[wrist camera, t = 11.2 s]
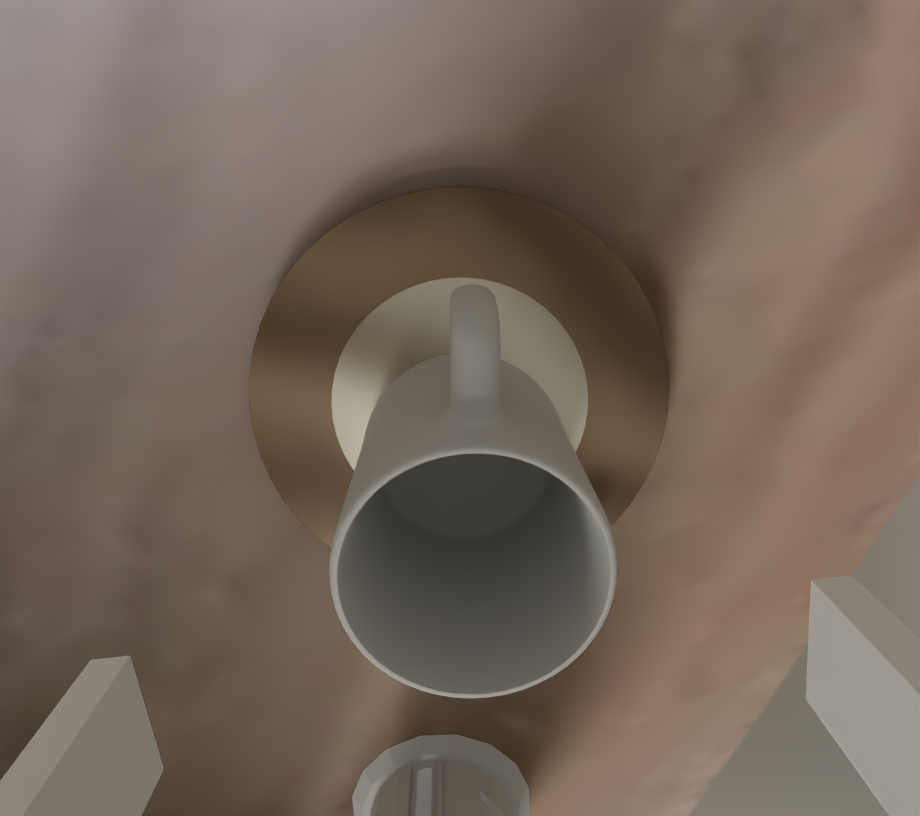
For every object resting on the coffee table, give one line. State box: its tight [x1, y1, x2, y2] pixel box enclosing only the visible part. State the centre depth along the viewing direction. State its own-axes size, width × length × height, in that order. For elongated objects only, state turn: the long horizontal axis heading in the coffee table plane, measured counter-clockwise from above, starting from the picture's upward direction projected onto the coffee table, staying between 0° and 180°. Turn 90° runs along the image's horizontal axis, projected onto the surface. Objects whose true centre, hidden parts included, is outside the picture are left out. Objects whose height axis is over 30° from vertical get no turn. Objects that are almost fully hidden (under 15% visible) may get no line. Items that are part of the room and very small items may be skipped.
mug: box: [329, 284, 618, 698], centre depth 25 cm, size 12×8×11 cm
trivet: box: [249, 187, 669, 548], centre depth 30 cm, size 18×18×3 cm
